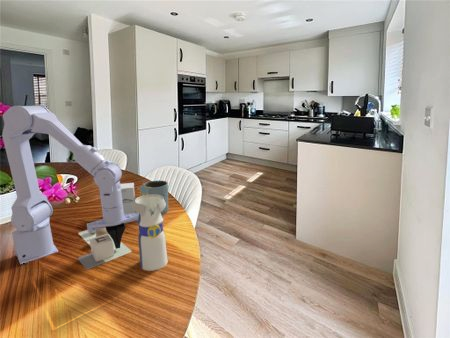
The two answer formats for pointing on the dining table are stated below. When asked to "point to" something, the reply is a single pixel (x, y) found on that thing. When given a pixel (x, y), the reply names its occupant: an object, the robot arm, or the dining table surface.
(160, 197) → the cream belted figurine
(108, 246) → the letter cube
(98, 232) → the cork
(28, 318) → the dining table surface
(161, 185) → the grey plant pot
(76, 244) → the dining table surface
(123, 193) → the supplement box
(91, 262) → the slate mat
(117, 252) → the tile set
